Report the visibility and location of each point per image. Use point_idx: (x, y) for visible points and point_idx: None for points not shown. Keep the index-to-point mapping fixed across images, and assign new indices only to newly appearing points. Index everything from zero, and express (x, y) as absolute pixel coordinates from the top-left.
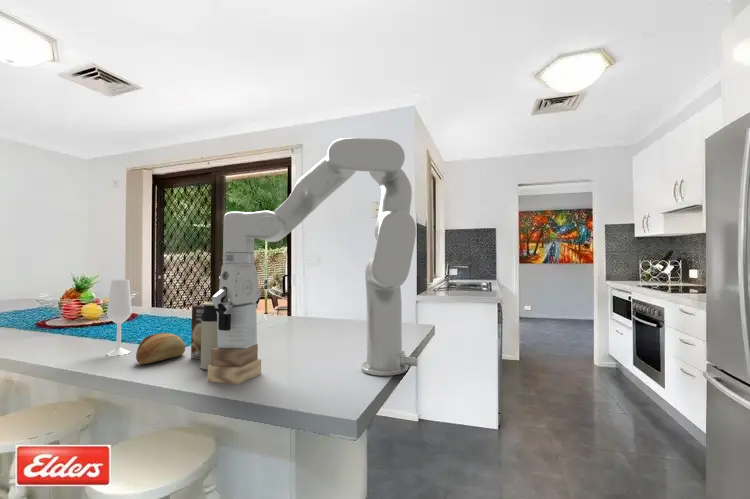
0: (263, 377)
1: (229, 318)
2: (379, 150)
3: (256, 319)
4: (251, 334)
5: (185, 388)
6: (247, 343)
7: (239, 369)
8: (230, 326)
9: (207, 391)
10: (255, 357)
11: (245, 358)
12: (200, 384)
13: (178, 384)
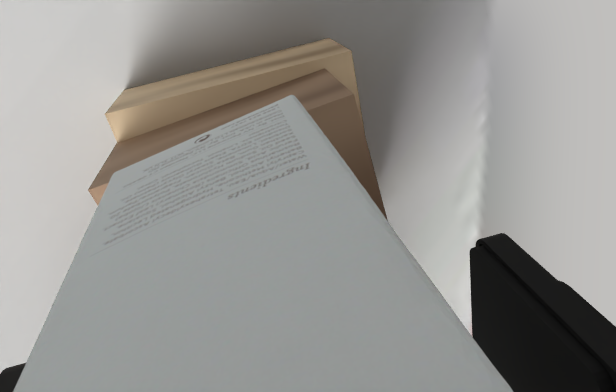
0: (166, 9)
1: (594, 320)
2: None
3: (42, 328)
4: (215, 163)
5: (464, 201)
6: (286, 107)
7: (340, 52)
8: (504, 254)
9: (462, 85)
10: (142, 138)
11: (270, 99)
12: (405, 197)
13: (439, 266)
